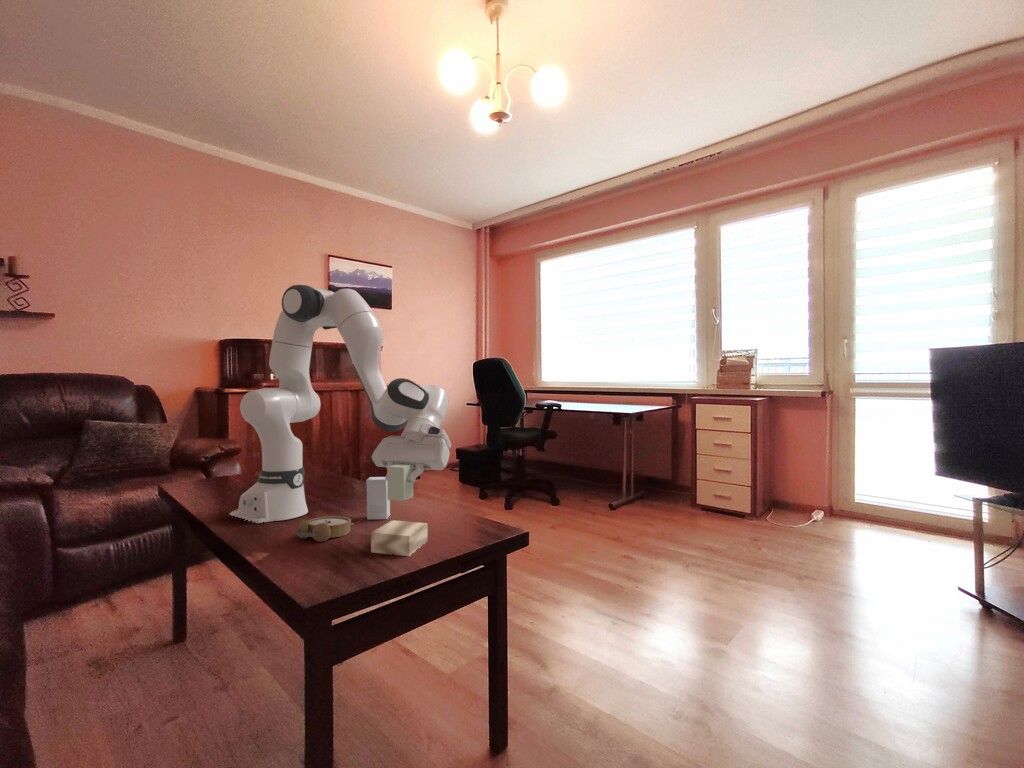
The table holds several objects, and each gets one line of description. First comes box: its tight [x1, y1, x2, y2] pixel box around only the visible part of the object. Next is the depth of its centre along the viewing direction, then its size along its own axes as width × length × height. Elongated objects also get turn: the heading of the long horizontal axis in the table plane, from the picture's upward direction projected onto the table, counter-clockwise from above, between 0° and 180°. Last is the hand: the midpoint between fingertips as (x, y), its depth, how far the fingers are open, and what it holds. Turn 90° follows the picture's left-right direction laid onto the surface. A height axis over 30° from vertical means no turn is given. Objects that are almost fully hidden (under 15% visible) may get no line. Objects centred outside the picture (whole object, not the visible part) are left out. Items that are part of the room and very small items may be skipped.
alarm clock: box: [295, 515, 355, 543], centre depth 118 cm, size 11×5×15 cm
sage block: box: [388, 464, 414, 502], centre depth 110 cm, size 4×4×8 cm
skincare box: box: [365, 476, 391, 521], centre depth 134 cm, size 6×4×12 cm
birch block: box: [370, 519, 429, 557], centre depth 110 cm, size 10×10×5 cm
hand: (399, 480), depth 109 cm, fingers closed on sage block, 4 cm apart
